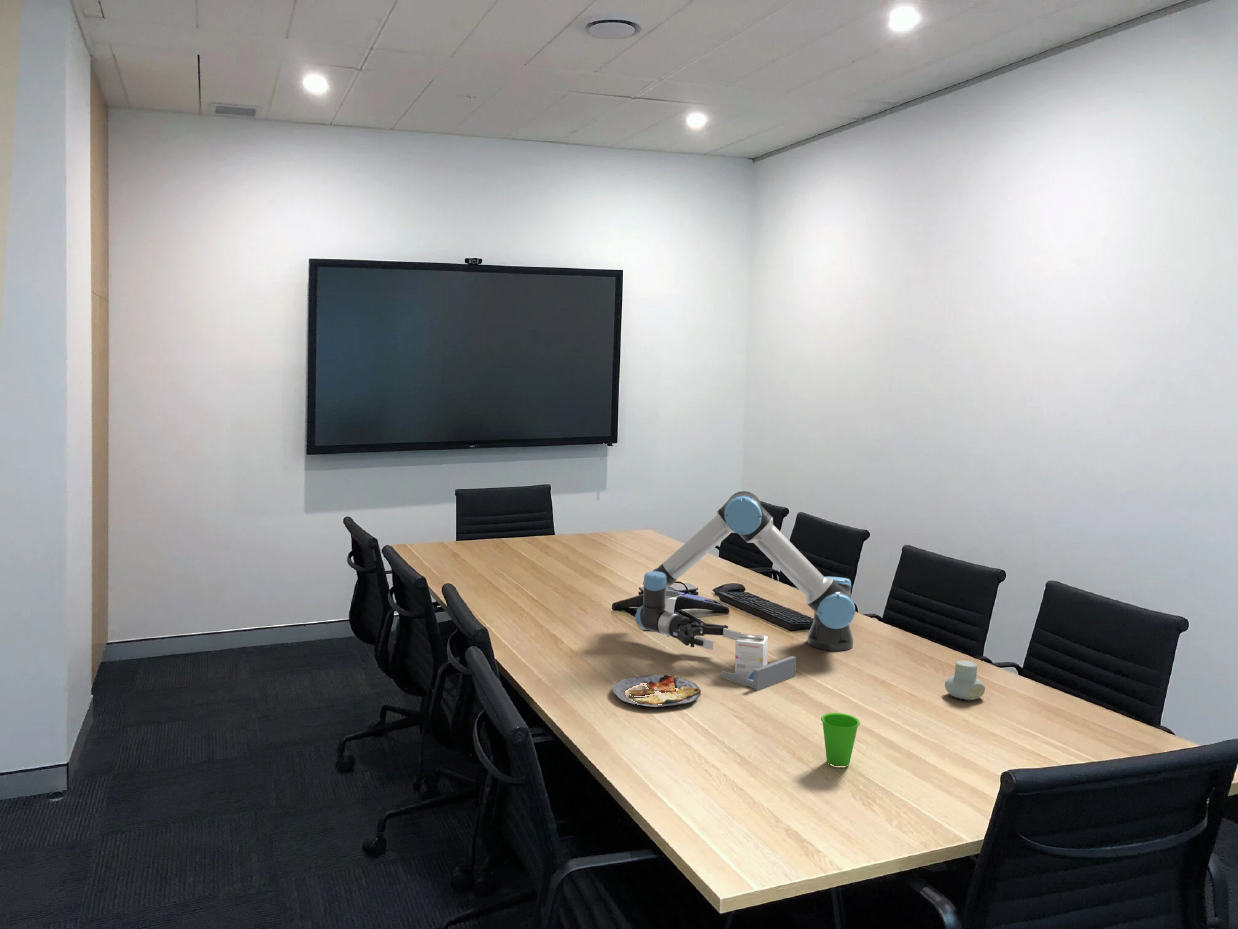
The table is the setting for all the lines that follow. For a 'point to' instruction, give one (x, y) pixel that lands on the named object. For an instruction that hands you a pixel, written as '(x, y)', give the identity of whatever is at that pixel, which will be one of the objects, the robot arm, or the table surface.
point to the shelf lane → (766, 674)
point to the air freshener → (965, 682)
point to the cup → (839, 737)
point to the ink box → (750, 654)
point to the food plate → (658, 683)
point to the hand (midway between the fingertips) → (726, 641)
